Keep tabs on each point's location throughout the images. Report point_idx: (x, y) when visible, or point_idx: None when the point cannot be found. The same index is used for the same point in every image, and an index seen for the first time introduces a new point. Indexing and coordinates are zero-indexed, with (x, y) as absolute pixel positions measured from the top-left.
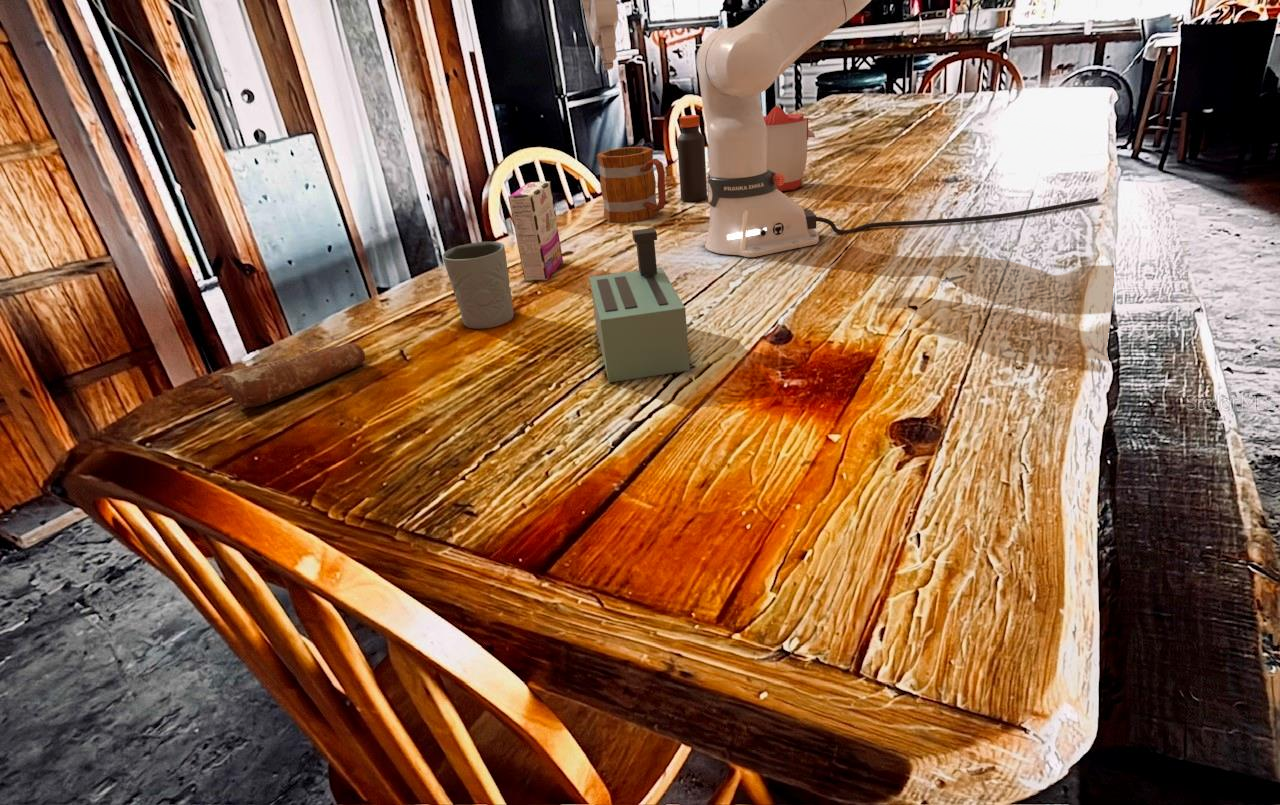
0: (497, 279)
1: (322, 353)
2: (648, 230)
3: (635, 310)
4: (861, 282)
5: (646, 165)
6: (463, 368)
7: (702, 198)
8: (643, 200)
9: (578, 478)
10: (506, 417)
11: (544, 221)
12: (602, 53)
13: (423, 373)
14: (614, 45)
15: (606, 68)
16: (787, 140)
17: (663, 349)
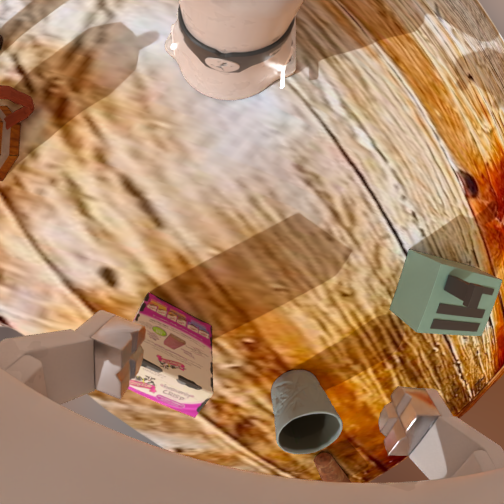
0: (330, 402)
1: (335, 473)
2: (477, 293)
3: (486, 312)
4: (418, 54)
5: None
6: (375, 400)
7: (1, 40)
8: (3, 127)
9: (494, 342)
10: (444, 372)
11: (186, 350)
12: (65, 394)
13: (363, 420)
14: (457, 421)
15: (142, 356)
16: None
17: None
